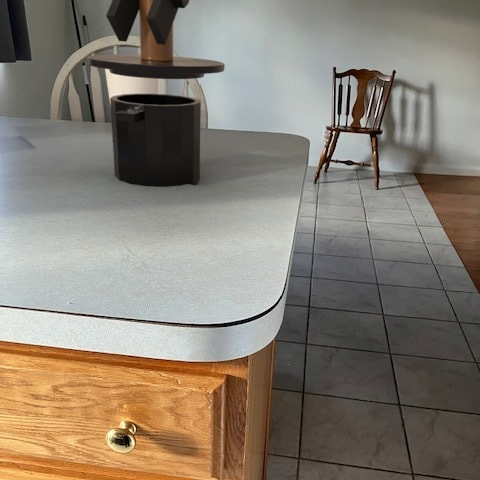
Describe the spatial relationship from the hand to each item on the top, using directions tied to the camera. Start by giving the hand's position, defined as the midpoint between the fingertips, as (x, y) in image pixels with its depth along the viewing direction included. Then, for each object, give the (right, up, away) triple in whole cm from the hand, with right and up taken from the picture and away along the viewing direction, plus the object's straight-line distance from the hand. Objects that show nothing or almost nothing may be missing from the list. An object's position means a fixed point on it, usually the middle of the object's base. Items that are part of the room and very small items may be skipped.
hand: (136, 29), depth 46 cm
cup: (-12, +11, +58) cm, 60 cm away
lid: (+1, -1, +5) cm, 5 cm away
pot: (-3, -5, +30) cm, 31 cm away
